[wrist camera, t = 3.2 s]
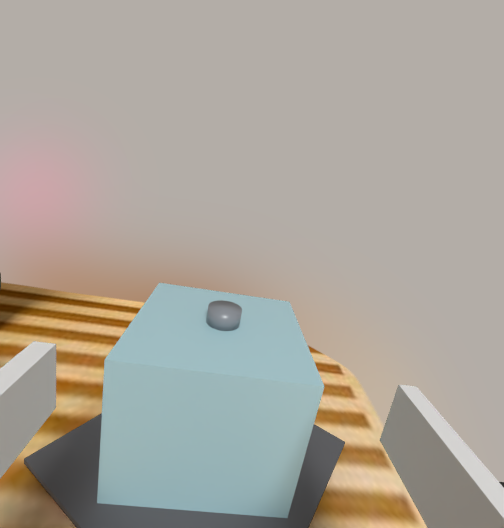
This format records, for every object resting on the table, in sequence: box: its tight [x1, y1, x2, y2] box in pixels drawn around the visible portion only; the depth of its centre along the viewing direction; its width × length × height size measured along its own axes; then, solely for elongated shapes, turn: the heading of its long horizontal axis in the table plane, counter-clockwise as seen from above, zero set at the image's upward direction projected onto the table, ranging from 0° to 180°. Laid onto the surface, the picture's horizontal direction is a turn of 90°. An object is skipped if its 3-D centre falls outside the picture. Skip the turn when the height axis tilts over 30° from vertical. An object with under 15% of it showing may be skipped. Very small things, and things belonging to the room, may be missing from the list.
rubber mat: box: [24, 414, 345, 528], centre depth 24 cm, size 17×17×1 cm
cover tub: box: [97, 283, 324, 518], centre depth 23 cm, size 12×12×11 cm
